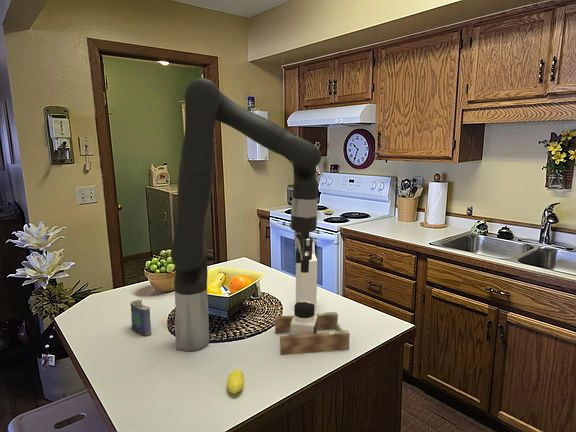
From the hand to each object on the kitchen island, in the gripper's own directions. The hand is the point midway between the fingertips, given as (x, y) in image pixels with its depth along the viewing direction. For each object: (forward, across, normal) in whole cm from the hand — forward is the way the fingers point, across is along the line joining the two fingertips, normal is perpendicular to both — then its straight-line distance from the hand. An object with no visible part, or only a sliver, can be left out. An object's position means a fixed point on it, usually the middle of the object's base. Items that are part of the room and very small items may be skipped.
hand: (301, 267), depth 115 cm
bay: (+23, +2, +3) cm, 23 cm away
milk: (+23, -20, +7) cm, 31 cm away
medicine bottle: (+23, +2, +1) cm, 23 cm away
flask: (+25, -12, -48) cm, 56 cm away
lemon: (+24, +21, -20) cm, 38 cm away
